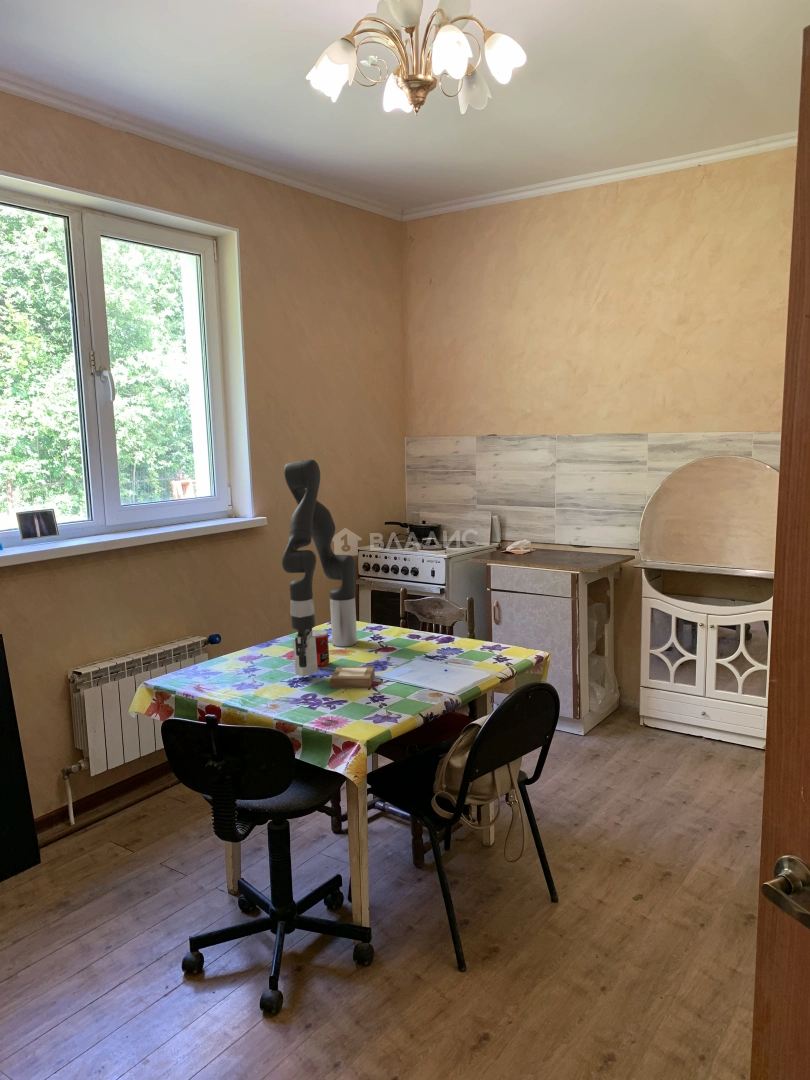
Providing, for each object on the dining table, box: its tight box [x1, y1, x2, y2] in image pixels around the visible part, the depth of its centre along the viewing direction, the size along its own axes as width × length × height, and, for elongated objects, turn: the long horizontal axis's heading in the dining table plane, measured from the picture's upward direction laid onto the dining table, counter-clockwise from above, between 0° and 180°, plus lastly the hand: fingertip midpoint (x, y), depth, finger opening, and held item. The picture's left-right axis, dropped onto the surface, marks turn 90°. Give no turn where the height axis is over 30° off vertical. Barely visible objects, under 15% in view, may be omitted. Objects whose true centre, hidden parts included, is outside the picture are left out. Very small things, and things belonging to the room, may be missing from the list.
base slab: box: [329, 665, 376, 689], centre depth 232 cm, size 12×12×3 cm
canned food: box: [312, 629, 330, 668], centre depth 250 cm, size 8×8×11 cm
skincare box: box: [292, 635, 319, 678], centre depth 237 cm, size 6×4×12 cm
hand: (305, 662), depth 237 cm, fingers closed on skincare box, 7 cm apart
